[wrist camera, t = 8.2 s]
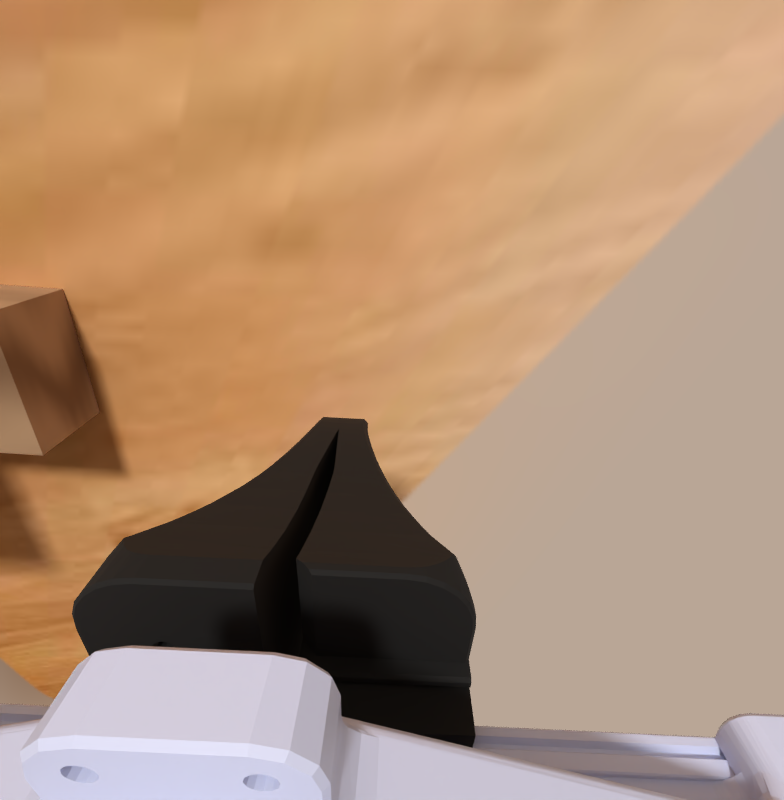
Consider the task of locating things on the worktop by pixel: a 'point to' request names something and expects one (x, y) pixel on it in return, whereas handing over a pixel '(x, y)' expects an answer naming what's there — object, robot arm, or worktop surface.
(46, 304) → the tan wooden chunk
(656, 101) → the worktop surface
